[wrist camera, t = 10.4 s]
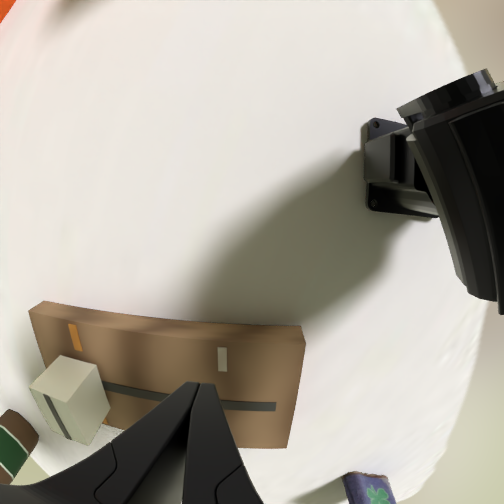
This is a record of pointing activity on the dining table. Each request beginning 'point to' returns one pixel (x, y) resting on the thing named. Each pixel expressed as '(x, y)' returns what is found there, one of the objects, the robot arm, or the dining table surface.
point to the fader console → (182, 365)
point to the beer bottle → (14, 444)
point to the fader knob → (71, 398)
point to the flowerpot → (5, 7)
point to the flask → (367, 488)
